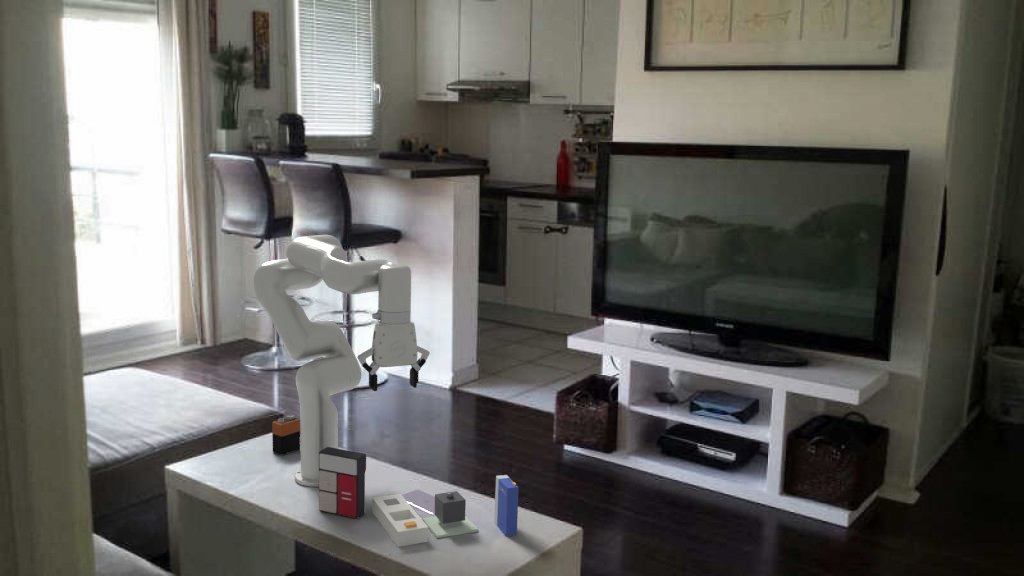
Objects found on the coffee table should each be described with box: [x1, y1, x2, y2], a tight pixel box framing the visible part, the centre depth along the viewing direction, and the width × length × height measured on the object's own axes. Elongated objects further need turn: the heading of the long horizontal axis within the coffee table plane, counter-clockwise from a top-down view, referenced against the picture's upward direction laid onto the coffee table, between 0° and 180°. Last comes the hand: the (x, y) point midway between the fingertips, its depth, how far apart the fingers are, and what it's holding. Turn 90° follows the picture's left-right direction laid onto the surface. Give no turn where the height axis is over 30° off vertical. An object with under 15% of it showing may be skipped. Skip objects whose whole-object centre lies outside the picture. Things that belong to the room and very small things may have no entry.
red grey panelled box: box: [318, 447, 367, 519], centre depth 216 cm, size 11×4×15 cm, turn 68°
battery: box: [271, 414, 301, 456], centre depth 256 cm, size 4×7×10 cm, turn 145°
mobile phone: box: [401, 489, 435, 517], centre depth 225 cm, size 8×1×15 cm
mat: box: [421, 515, 479, 539], centre depth 212 cm, size 10×10×1 cm
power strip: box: [371, 493, 429, 548], centre depth 211 cm, size 20×7×4 cm, turn 25°
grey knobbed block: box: [434, 490, 466, 528], centre depth 212 cm, size 6×6×8 cm
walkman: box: [493, 474, 520, 537], centre depth 211 cm, size 8×3×12 cm, turn 21°
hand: (393, 387), depth 216 cm, fingers open, 9 cm apart
